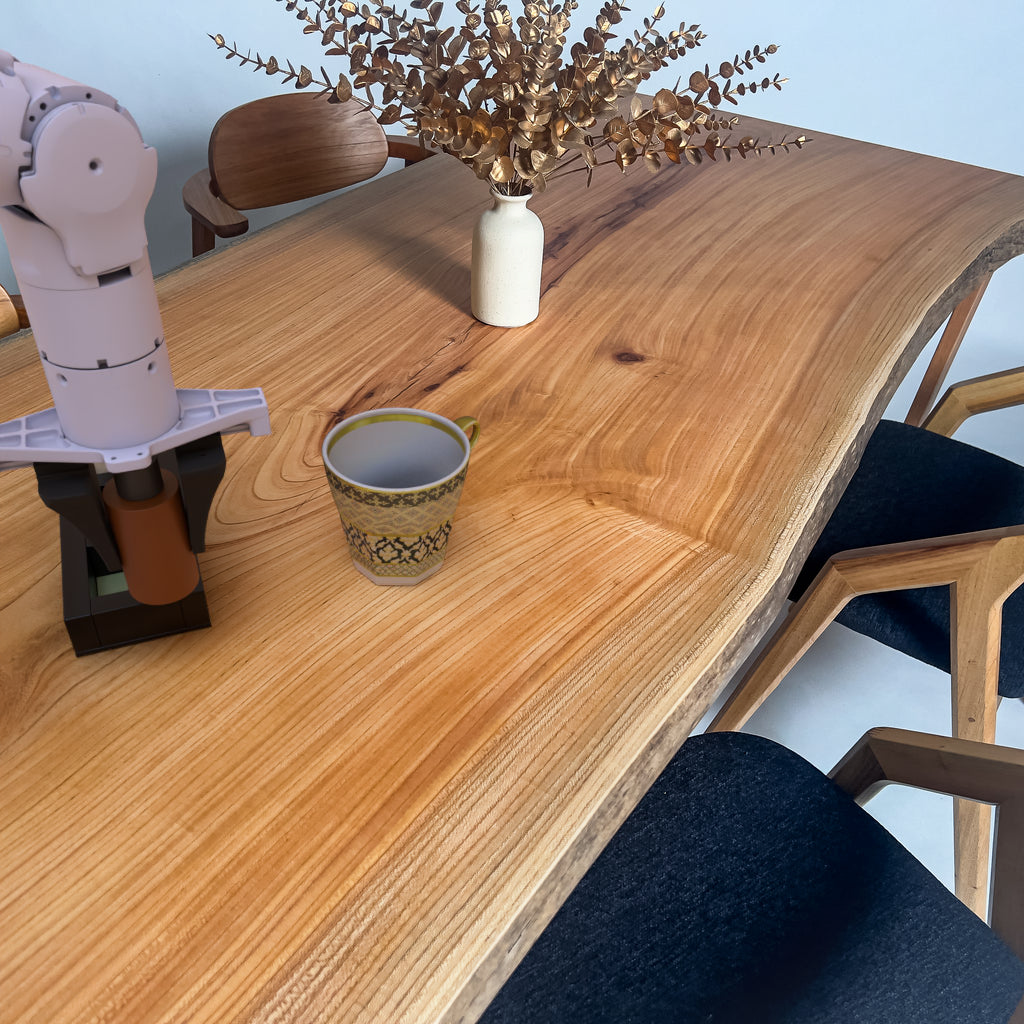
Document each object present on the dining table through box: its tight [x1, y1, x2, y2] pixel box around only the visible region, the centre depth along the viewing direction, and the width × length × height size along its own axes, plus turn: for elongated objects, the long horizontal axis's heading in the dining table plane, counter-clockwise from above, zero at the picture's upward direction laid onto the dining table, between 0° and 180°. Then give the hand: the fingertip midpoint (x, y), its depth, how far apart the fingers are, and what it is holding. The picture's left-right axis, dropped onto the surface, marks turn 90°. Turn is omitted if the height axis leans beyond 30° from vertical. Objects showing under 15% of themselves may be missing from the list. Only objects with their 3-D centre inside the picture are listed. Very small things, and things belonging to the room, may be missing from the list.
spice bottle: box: [102, 454, 199, 605], centre depth 51 cm, size 4×4×9 cm
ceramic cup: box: [320, 406, 481, 587], centre depth 65 cm, size 13×10×10 cm
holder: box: [58, 448, 213, 658], centre depth 66 cm, size 8×22×3 cm, turn 22°
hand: (155, 551), depth 52 cm, fingers closed on spice bottle, 4 cm apart
